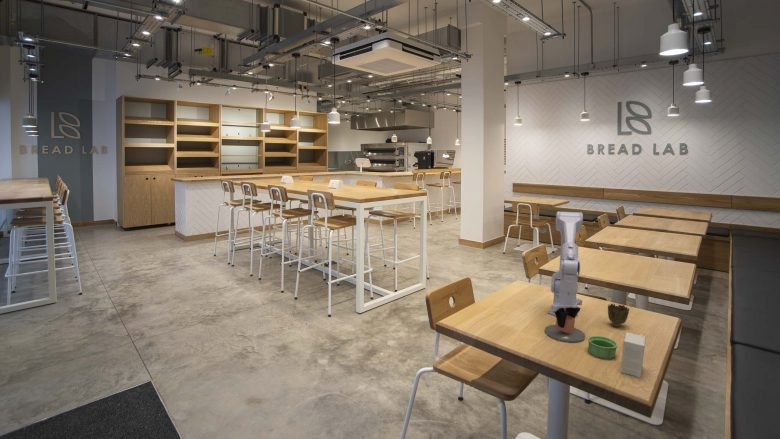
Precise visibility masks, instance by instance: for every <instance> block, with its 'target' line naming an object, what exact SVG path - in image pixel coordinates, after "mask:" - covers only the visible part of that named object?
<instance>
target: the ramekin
mask: <svg viewBox="0 0 780 439" xmlns="http://www.w3.org/2000/svg"><path fill="white" fill-rule="evenodd" d="M587 340H588V341H587V342H588V352H589V353H590V354H591V355H592V356H594V357H596V358H600V359H604V360H605V359H606V360H609V359H610V360H611V359H613V358H615V356H616V352H617V348H618V342H617V341H615V340H614V339H612V338H610V337H606V336H602V335H592V336H589V337H588V338H587Z"/></svg>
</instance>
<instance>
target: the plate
mask: <svg viewBox="0 0 780 439" xmlns="http://www.w3.org/2000/svg"><path fill="white" fill-rule="evenodd" d="M544 333H545V334H546V336H547V337H549V338H551V339H552V340H555V341H559V342H563V343H571V344H573V343H581V342H584V341H585V339H586V334H585V333H584V332H583V331H582V330H580V329H579V328H576V327H574V331H572V332H568V333H566V332H563V331H561V330H559V329H557V328H556V324H550V325H548V326H546V327H545V328H544Z"/></svg>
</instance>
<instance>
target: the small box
mask: <svg viewBox="0 0 780 439" xmlns="http://www.w3.org/2000/svg"><path fill="white" fill-rule="evenodd" d="M646 338H647V336H645V335H640V334H636V333H631V332H625V335H624V339H623V346H622V356H621V363H620V364H621V366H620V373H622V372H623V373H622V374H626V373H627V374H626V375H629V374H631V375H630V376H633V375H635V376H634V377H637V376H639V377H638V378H641V377H642V370H643V363H644V357H645V356H644V355H645V347H646Z"/></svg>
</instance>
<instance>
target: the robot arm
mask: <svg viewBox="0 0 780 439" xmlns="http://www.w3.org/2000/svg"><path fill="white" fill-rule="evenodd" d="M583 222H584V214H583V213H582V211H580V212H576V211H575V212H574V211H559V210H558V211H557V212H556V213H555V230H556V231H558V232H560V254H559V269H558V271H556V272H554V273H553V274H552V275H551V282H550V292H551V293H552V294H553V301H552V304H550V310H549V311H547V313H548V314H550V315H552V316H555V318H556V317H557V322H558V326H559V327H561V328H564V326H565V320H566V317H567V315H568V316H571V317H573V318H575V319H576V317H577V316H579V314H578V313H579V312H581V307H579V306H583V300H582V299H579V298H577V292H578V278H579V277H578V276H580V272H581V261H580V258H579V245H577V244H576V243H575V241H576V234H577V233H579V232H580V230H581V229H582V227H583Z"/></svg>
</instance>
